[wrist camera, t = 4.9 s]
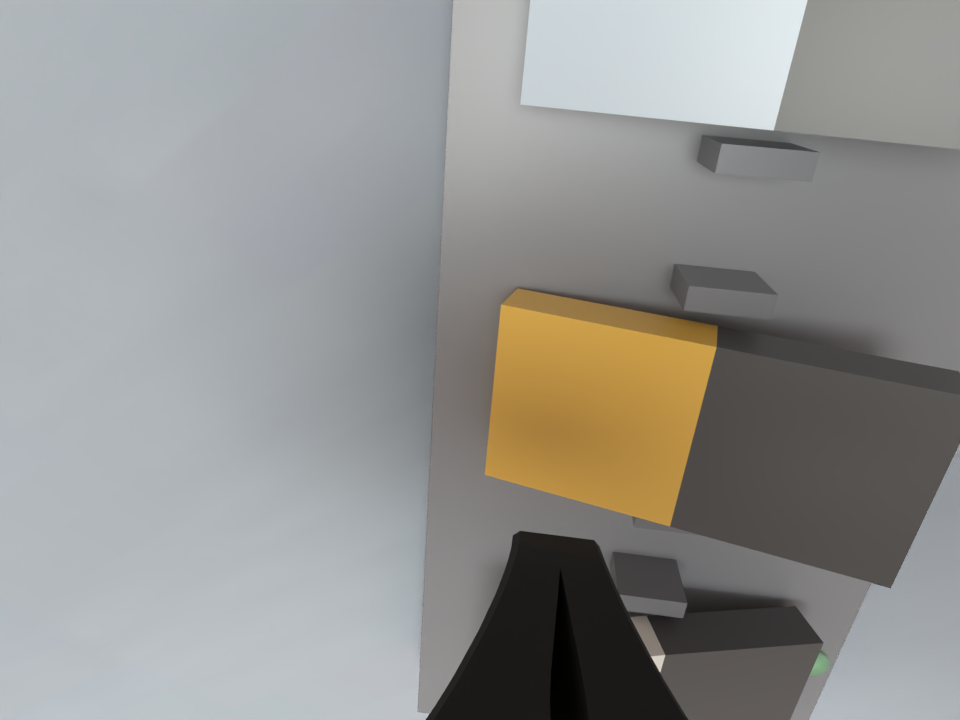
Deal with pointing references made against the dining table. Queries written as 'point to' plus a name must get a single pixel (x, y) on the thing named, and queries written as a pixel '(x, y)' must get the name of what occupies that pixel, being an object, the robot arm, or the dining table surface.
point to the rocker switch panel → (657, 310)
